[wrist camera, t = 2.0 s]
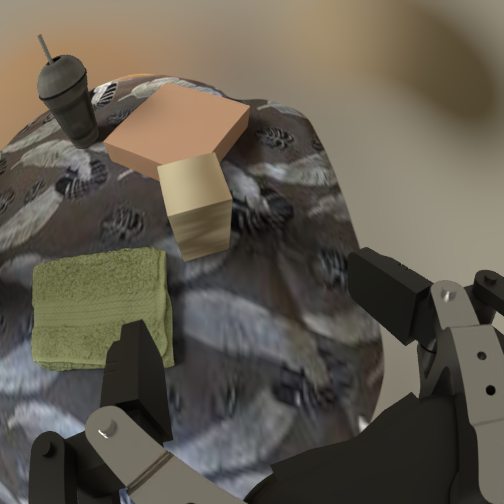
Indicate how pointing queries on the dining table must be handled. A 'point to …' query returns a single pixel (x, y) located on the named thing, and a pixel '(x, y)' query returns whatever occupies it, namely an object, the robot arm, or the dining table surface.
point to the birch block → (197, 205)
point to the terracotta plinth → (176, 129)
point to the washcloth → (98, 306)
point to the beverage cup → (68, 97)
